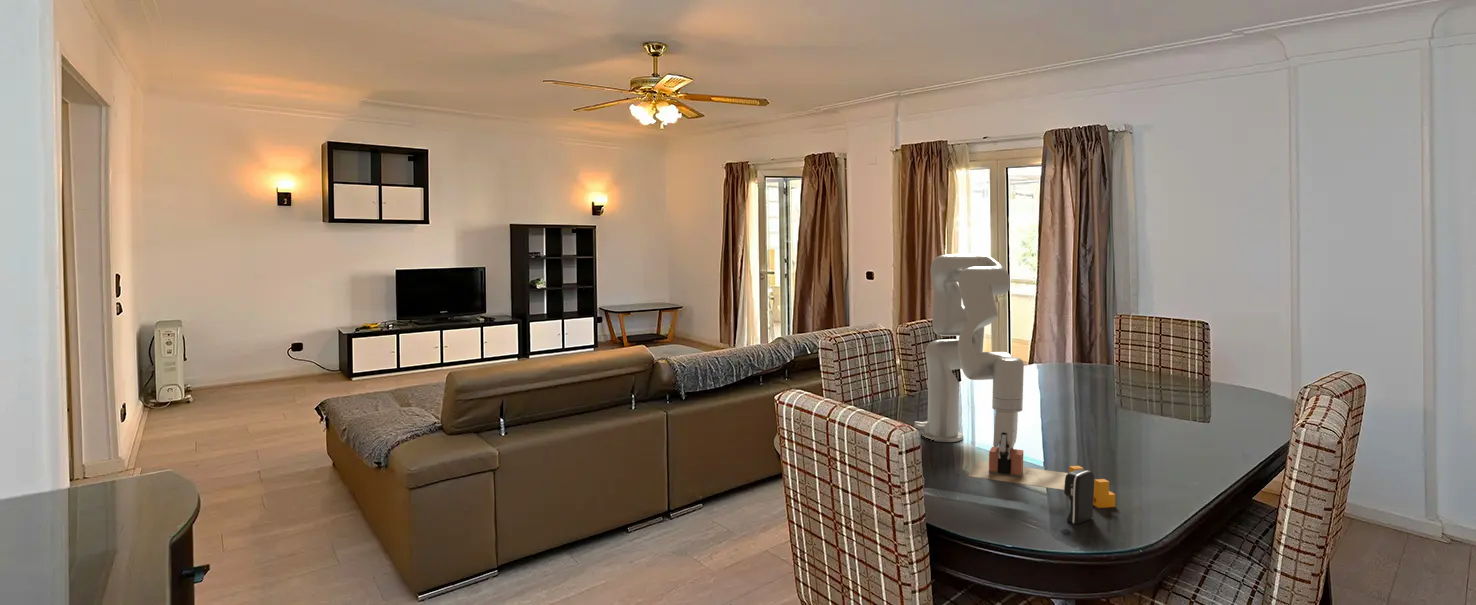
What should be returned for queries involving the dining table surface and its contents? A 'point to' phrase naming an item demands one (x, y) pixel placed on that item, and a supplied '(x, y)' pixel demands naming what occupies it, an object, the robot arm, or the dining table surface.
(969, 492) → the dining table surface
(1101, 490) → the pipe clamp
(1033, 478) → the board
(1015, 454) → the block
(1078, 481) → the battery charger
